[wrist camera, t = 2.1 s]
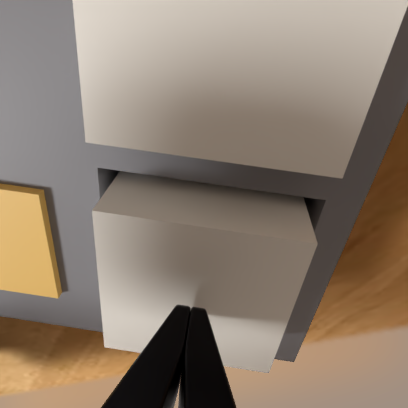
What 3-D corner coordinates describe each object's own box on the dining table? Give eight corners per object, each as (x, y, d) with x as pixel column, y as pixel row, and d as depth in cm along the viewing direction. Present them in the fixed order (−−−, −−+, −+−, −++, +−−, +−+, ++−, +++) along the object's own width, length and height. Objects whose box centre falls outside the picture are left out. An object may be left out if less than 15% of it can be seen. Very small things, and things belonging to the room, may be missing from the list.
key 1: (126, 291, 13) (104, 347, 11) (123, 166, 10) (91, 210, 8) (264, 312, 13) (268, 373, 11) (301, 192, 10) (317, 243, 8)
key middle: (121, 109, 9) (85, 142, 7) (112, -181, 6) (47, -271, 4) (319, 137, 9) (342, 178, 7) (407, -148, 6) (495, -225, 4)
